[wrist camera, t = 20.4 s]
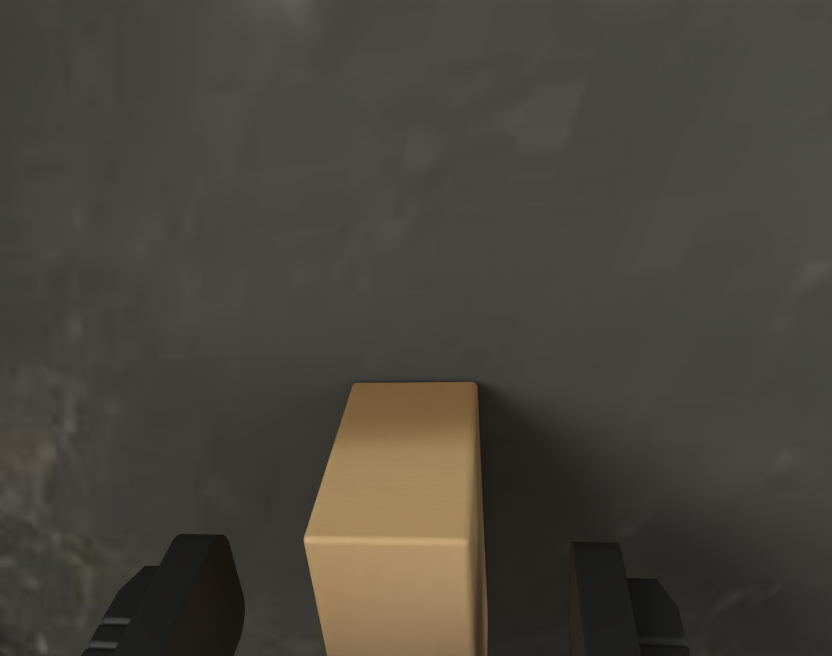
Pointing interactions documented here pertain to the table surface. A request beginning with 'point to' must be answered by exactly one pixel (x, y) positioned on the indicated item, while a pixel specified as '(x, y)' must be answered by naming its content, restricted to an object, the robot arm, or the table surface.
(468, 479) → the knife
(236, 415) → the table surface
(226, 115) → the table surface
